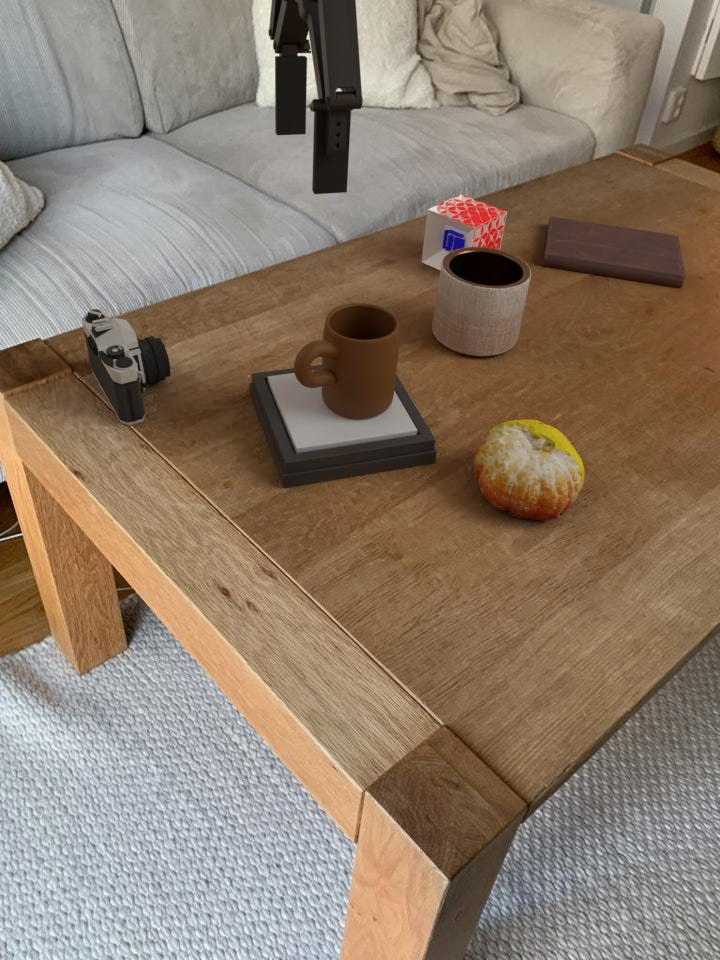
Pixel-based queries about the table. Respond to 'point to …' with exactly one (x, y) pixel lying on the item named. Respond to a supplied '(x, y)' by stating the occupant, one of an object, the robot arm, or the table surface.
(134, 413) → the camera
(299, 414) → the scale pan
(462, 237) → the red and white box
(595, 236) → the notebook
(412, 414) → the scale
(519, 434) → the fruit
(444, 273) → the planter
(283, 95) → the robot arm
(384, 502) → the table surface
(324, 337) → the mug
